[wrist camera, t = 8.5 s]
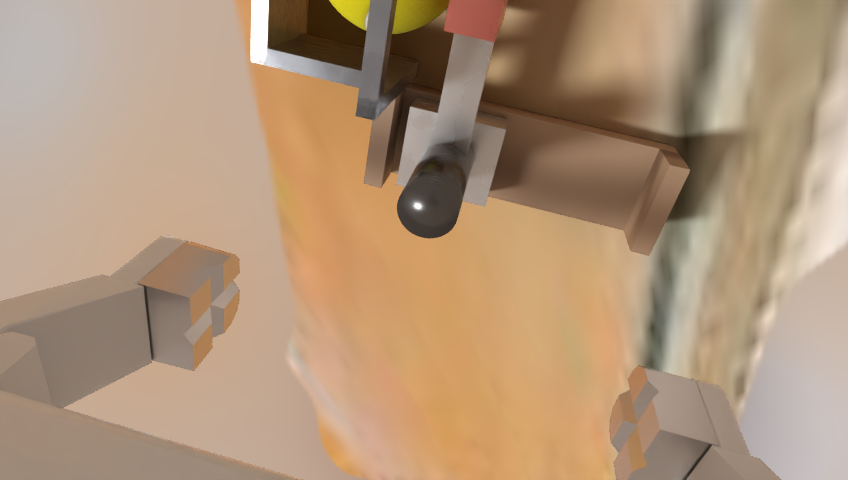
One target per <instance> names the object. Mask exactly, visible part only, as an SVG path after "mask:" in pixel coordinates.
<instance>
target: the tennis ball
mask: <svg viewBox="0 0 848 480" xmlns="http://www.w3.org/2000/svg"><path fill="white" fill-rule="evenodd" d="M329 1H330V2H331V4H332V5H333V6H334V7H335V8H336V10H337V11H338V12H339V13H340V14H341V15H342V16H344V17H345V18H346V19H347V20H349V21H350V22H351V23H353V24H354V25H356V26H358V27H359V28H361V29H363V30H365V31H367V23H368V15H369V7H370V0H329ZM449 1H450V0H397V5H396V12H395V19H394V26H393V32H392V34H400V33H405V32H409V31H412V30H415V29H417V28H420V27H422V26H424V25H426V24H428V23H429V22H431V21H432V20H434V19H435V18H436V17H438V16H439V15H440V14H441V13H442V12H443V11H444V10H445V9H446V8H447V7H448V6H449Z"/></svg>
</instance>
